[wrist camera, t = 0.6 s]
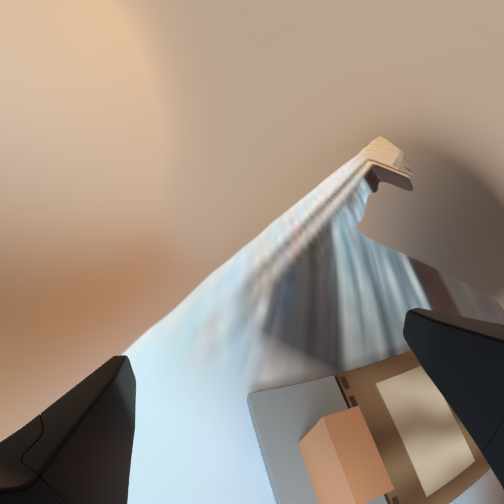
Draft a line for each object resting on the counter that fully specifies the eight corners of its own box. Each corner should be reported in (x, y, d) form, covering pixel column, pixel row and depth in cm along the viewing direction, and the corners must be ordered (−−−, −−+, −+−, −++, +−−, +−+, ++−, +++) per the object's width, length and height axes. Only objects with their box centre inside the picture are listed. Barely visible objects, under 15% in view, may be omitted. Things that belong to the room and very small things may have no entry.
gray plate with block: (390, 536, 12) (450, 529, 8) (300, 573, 10) (337, 593, 6) (328, 383, 24) (359, 334, 20) (246, 400, 22) (257, 354, 18)
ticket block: (479, 473, 15) (490, 468, 14) (393, 534, 12) (403, 533, 11) (418, 353, 27) (425, 344, 26) (331, 382, 24) (337, 373, 23)
